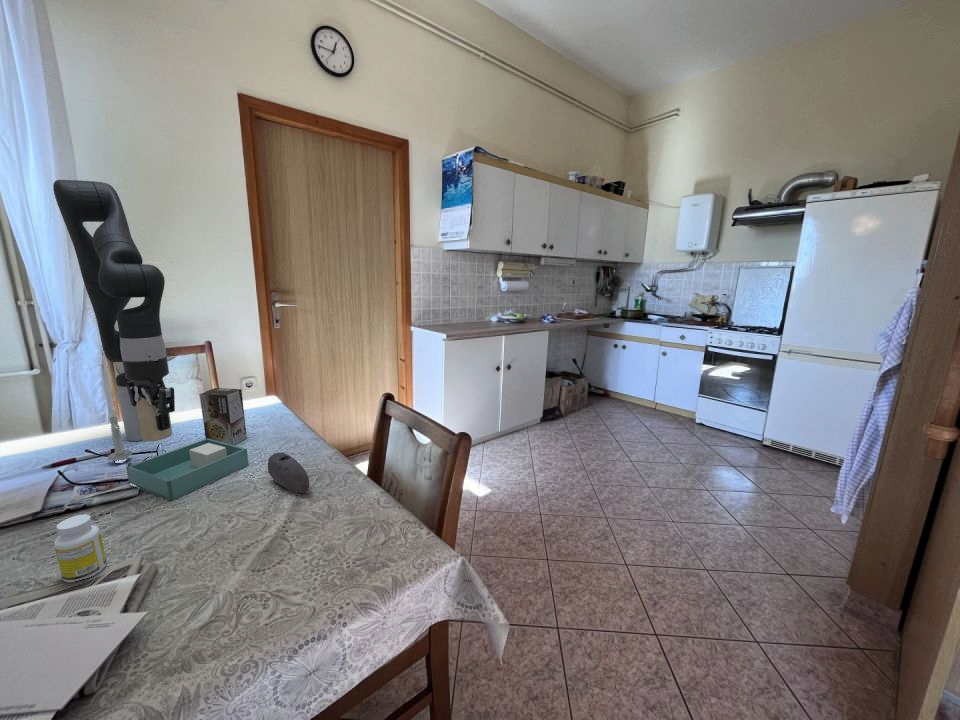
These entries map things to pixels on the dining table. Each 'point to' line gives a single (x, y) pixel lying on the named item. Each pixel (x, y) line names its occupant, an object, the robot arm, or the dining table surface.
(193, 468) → the tote
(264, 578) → the dining table surface
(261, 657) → the dining table surface
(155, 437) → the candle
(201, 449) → the white box
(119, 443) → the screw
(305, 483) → the perforated stone tool
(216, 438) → the coffee box
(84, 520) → the supplement bottle
